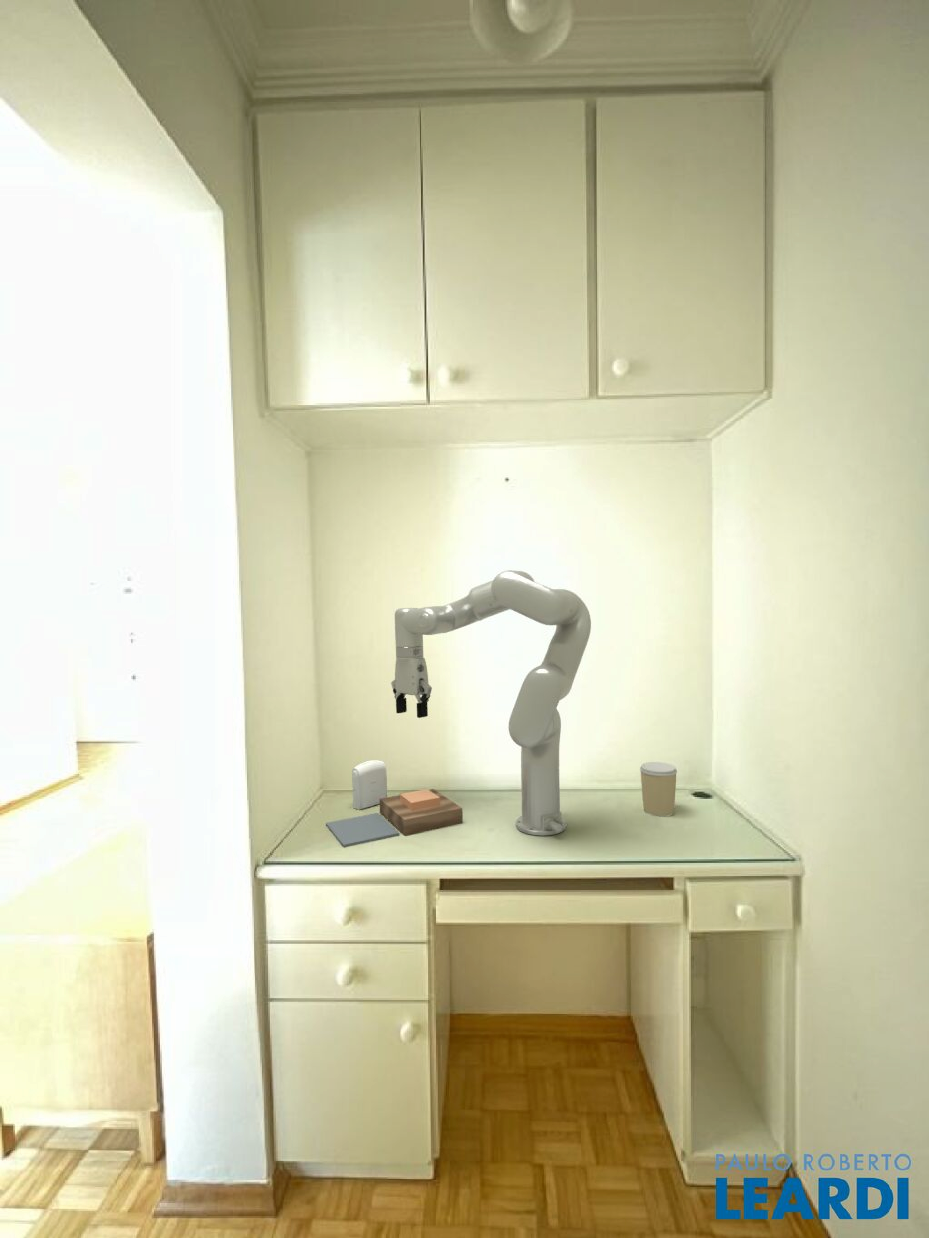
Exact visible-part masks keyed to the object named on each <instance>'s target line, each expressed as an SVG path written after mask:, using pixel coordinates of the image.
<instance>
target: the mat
mask: <svg viewBox="0 0 929 1238" xmlns="http://www.w3.org/2000/svg"><path fill="white" fill-rule="evenodd" d="M325 826H326V827H327V828H328V830H329V831H330V832H331V833H332V835H333V836H334V837H335V839H336V840H337V841H338V842H339V843H340V845H341V846H342V848H347V847H351V846H356V845H357V846H358V845H361V844H365V843H369V842H370V841H371V842H375V841H380V840H384V839H388V838H394V837H397V836H398V837H399V836H400V831H399V830H398V829H397V828H395V827H394V826H393V825H392V824H391V823H390V822H389V821H388V820H387V819H386V818H385V817H383V816H382V815H381V814H380V813H378V812H376V813H375V812H374V813H370V814H365V815H361V816H354V817H349V818H343V819H339V820H334V821H329V822H328V821H327V822H326V823H325ZM396 829H397V830H396Z"/></svg>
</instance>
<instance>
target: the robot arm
mask: <svg viewBox="0 0 929 1238" xmlns="http://www.w3.org/2000/svg"><path fill="white" fill-rule="evenodd" d="M509 610H511V611H513V612H515V613H517V614H520V615H522V616H524V617H526V618H527V619H530V620H532V621H534V622H537V623H539V624H542V625H544V626H556V627H555V628H556V629H555V631H554V634H553V636H552V637H551V639H550V641H549V645H548V647H547V651H546V652H545V655H544V658H543V660H542V662H541V663H540V665H538V666H536V667H534V668H533V669H531V670H530V671H529V673H528V674H527V675H526V676H525V678H524V680H523V682H522V683H521V686H520V688H519V691H518V694H517V698H516V700H515V703H514V706H513V708H512V711H511V713H510V717H509V721H508V733H509V736H510V737H511V740H512V741H513V742H514V744H516V745H517V746H519V747H520V750H521V751H520V776H521V777H520V779H521V785H520V786H521V788H520V789H521V816H519V817H518V818H517V819H516V820H515V827H516V828H517V830H519V831H520V832H522V833H524V834H528V835H532V836H545V837H546V836H552V835H553V836H554V835H557V834H560V833H562V832H564V831H565V830H566V829H567V823H568V822H567V821H566V819H564V818H563V817H562V812H561V807H560V806H561V804H560V803H561V801H560V800H561V798H560V797H561V796H560V794H561V793H560V742H561V732H562V731H561V730H562V720H561V715H560V712H559V711H558V709H557V707H558V705H559V703H560V701H561V700H563V699H564V698H566V697H567V695H569V693H570V692H571V690H572V687H573V684H574V681H575V678H576V675H577V672H578V670H579V667H580V664H581V663H582V658H583V656H584V653H585V650H586V647H587V646H588V642H589V639H590V634H591V629H592V620H591V614H590V611H589V609H588V606H587V605H586V603H585V602H584V601H583V600H582V598H581V597H580V596H579V595H577V594H576V593H575V592H574V591H571V590H570V589H569V590H568V589H563V588H557V589H555V588H551V587H548V586H545V585H544V584H541V583H539V582H536V581H535V579H534V578H533V576H531V575H530V573H528V572H526V571H523V570H513V569H512V570H504V571H501V572H500V573H497V575H496V576H495V577H494V579H493V580H490V581H487V582H485V583H483V584H482V583H481V584H480V585H476V586H474V587H473V588H471V589H470V590H469V592H468V595H466V596H464V597H462V598H460V599H458V600H455V601H453V602H450V603H447V604H445V605H436V606H434V605H433V606H424V607H420V608H419V607H404V608H403V607H402V608H397V609H395V611H394V631H395V633H394V637H395V664H394V665H395V667H394V669H395V671H394V680H392V681H391V688H392V692H393V694H394V699H395V710H396V711H395V712H396V714H403V713H406V712H407V711H408V710H407V708H408V707H407V706H408V705H407V697H406V695H409V696H415V698H416V700H417V703H416V717H417V718H419V719H422V718H426V717H428V715H429V714H428V711H429V710H428V702H429V701H430V700H429V699H430V697H431V693H432V689H433V688H432V686H431V685H430V684H429V675H428V673H429V672H428V667H427V661H426V658H425V657H424V636H433V635H438V634H439V635H440V634H446V633H449V632H453V631H455V630H459V629H461V628H464V627H466V626H469V625H472V624H474V623H477V622H479V621H480V622H481V621H483V620H485V619H487V618H490V617H492V616H495V615H498V614H500V613H503V612H505V611H509Z"/></svg>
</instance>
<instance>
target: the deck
mask: <svg viewBox="0 0 929 1238" xmlns="http://www.w3.org/2000/svg"><path fill="white" fill-rule="evenodd" d="M429 790H430V791H431V792H432V793H434V794H435V795H437V796H438V797H440V805H437V806H432V807H427V808H422V809H417V810H412V811H411V810H410V809H409V808H408V807H406V806H405V805H404V804H403V803H401V802H400V794H399V795H392V796H387V797H386V798H380V804H379V814H380V813H381V814H382V815H383V816H384V817H383V816H382V815H381V814H380V815H381V816H382V817H383V818H384V819H385V820H387V819H388V820H389V821H388V820H387V821H388V823H390V822H391V823H390V825H391V826H392V827H393V828H395V829H397V831H398V832H399V833H401V834H402V835H403V836H404V837H406V836H409V835H410V836H411V835H415V834H420V833H424V832H428V831H432V830H433V831H435V830H438V829H442V828H449V827H452V826H458V825H461V824H463V823H464V821H463V820H464V819H463V807H462V806H460V805H458V804H457V803H455V802H454V801H453V800H451V799H450V798H448V797H447V796H445V795H443V794H442V793H440V792H439V791H438V790H436V789H434V788H431V789H429Z"/></svg>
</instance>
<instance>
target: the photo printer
mask: <svg viewBox="0 0 929 1238" xmlns="http://www.w3.org/2000/svg"><path fill="white" fill-rule="evenodd" d="M351 772H352V773H351V779H352V780H351V781H352V784H351V785H352V803H353V808H354V809H355V810H358V809H360V810H363V809H366V808H370V807H373V806H375V805H376V806H377V805H380V798H386V797H388V782H387V781H388V779H387V766H386V763H385V762H384V761H382V760H377V759H376V760H375V759H372V760H371V759H370V760H368V761H364V762H362V763H358V765H356V766H355V767H353V769H352V771H351Z"/></svg>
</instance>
